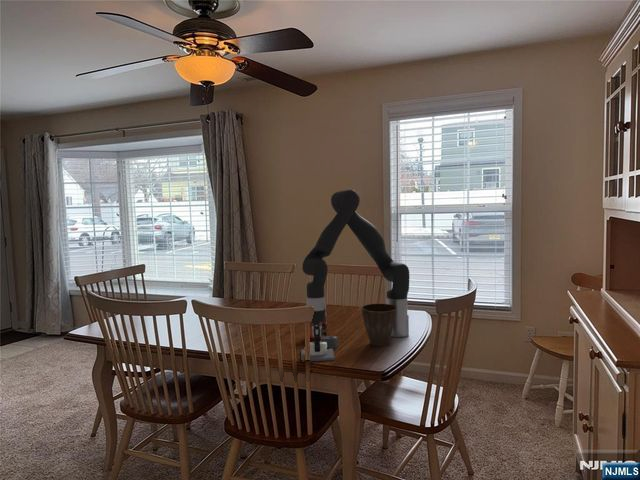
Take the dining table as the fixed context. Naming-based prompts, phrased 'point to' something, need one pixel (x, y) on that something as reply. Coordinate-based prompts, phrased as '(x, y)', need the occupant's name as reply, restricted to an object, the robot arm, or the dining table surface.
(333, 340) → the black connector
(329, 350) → the felt pad
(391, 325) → the plant pot
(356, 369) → the dining table surface
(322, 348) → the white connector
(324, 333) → the canned food
